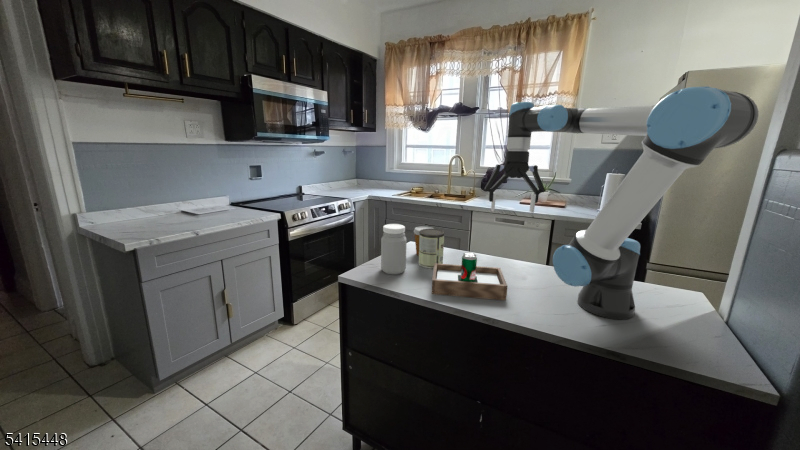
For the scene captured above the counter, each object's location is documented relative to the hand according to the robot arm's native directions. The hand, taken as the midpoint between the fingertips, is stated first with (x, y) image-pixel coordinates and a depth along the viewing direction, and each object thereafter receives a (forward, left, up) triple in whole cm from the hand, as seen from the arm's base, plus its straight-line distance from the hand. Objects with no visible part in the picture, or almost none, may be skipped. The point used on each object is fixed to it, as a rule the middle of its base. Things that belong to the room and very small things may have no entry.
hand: (512, 211), depth 116 cm
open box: (+15, +11, -26) cm, 31 cm away
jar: (+43, +1, -26) cm, 50 cm away
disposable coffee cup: (+33, -21, -26) cm, 47 cm away
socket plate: (+15, +11, -26) cm, 31 cm away
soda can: (+15, +11, -26) cm, 32 cm away
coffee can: (+29, -9, -26) cm, 40 cm away
